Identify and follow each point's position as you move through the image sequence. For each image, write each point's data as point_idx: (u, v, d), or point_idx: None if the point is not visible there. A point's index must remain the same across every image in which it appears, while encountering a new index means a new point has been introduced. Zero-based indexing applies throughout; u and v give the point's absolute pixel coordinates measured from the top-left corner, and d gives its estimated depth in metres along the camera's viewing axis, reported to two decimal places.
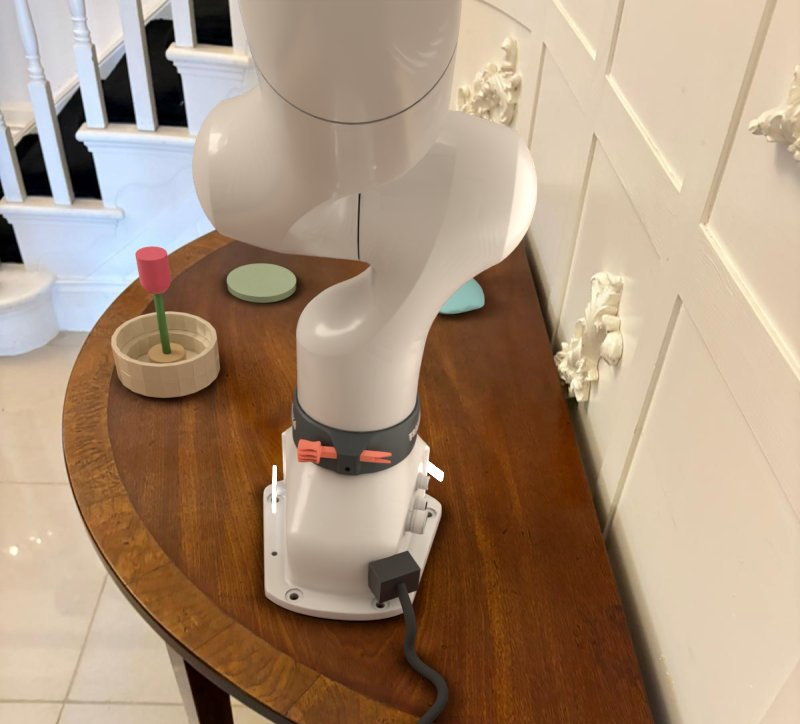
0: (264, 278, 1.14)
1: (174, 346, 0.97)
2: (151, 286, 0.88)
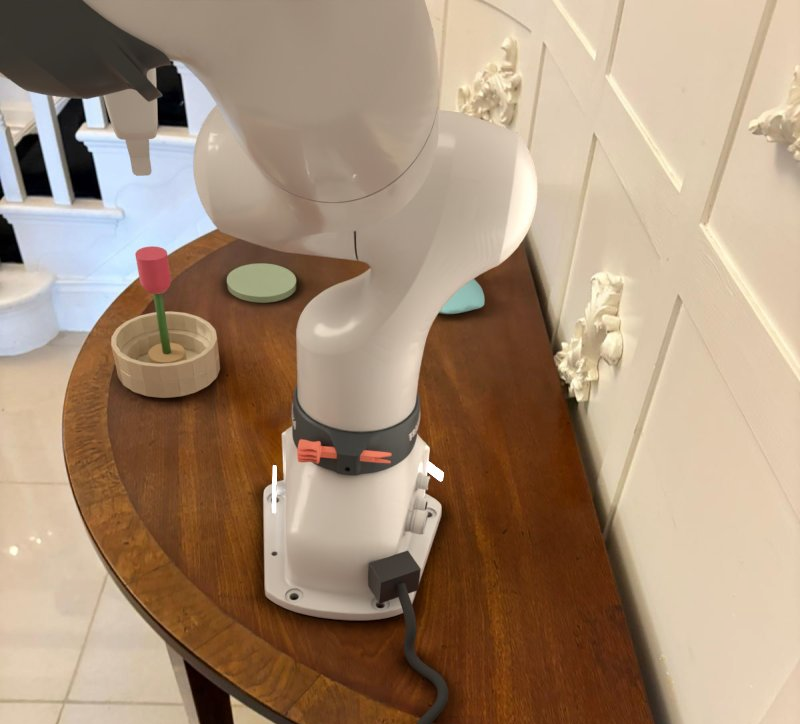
0: (264, 278, 1.14)
1: (174, 346, 0.97)
2: (151, 286, 0.88)
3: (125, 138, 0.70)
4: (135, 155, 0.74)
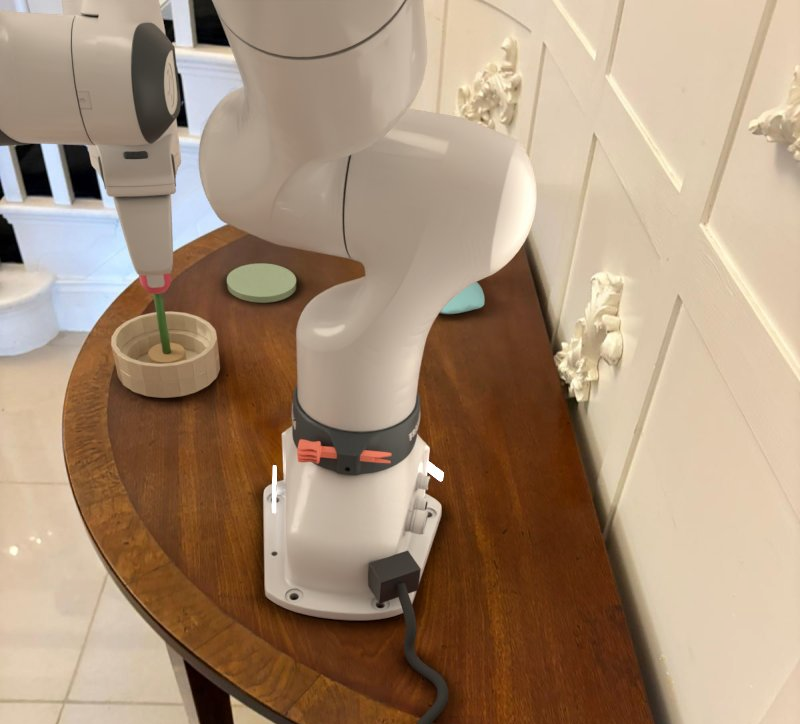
0: (264, 278, 1.14)
1: (174, 346, 0.97)
2: None
3: (144, 274, 0.79)
4: None
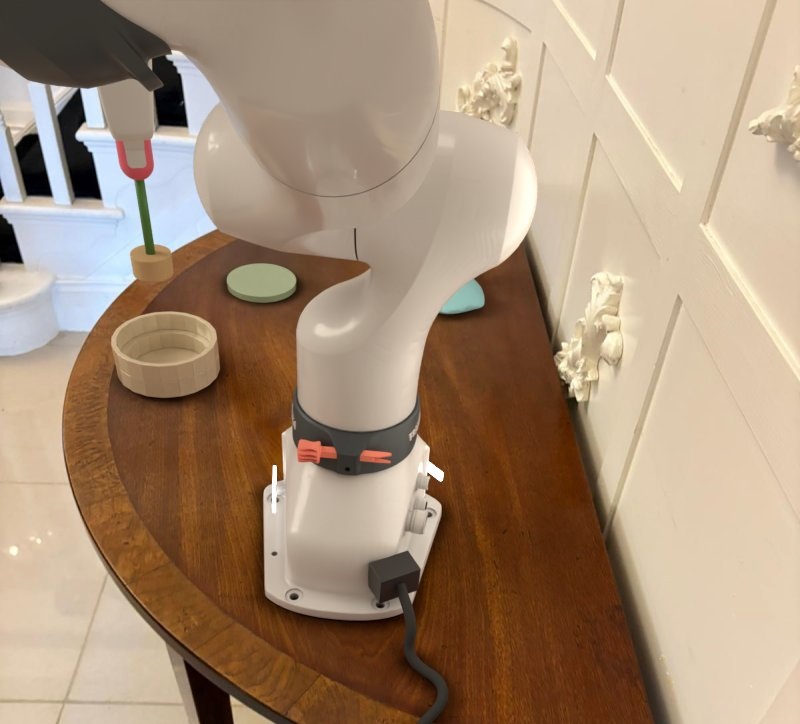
0: (264, 278, 1.14)
1: (159, 247, 0.88)
2: (132, 169, 0.79)
3: (121, 139, 0.70)
4: (130, 148, 0.76)
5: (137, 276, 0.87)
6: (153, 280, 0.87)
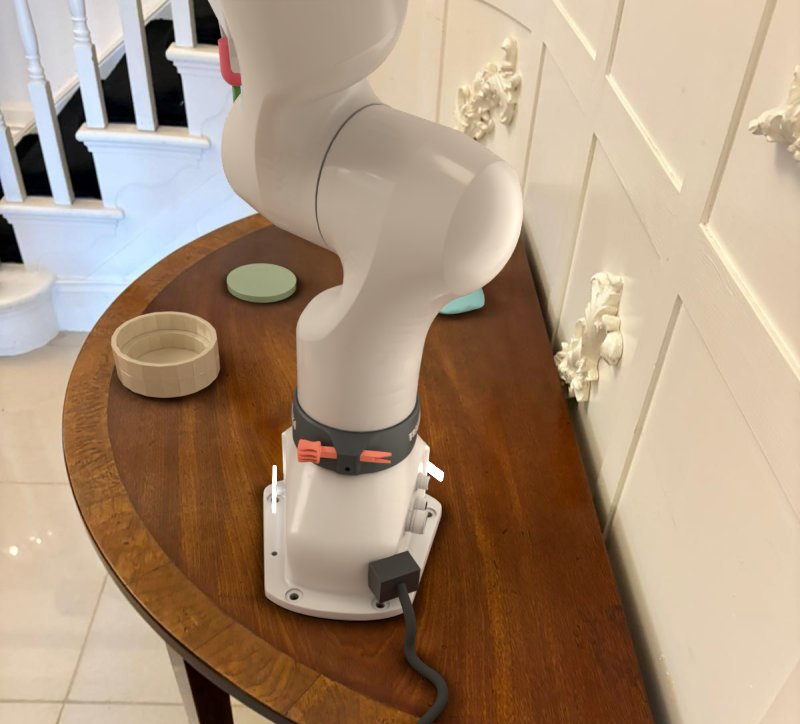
0: (264, 278, 1.14)
1: None
2: (232, 75, 0.91)
3: None
4: (235, 54, 0.88)
5: None
6: None
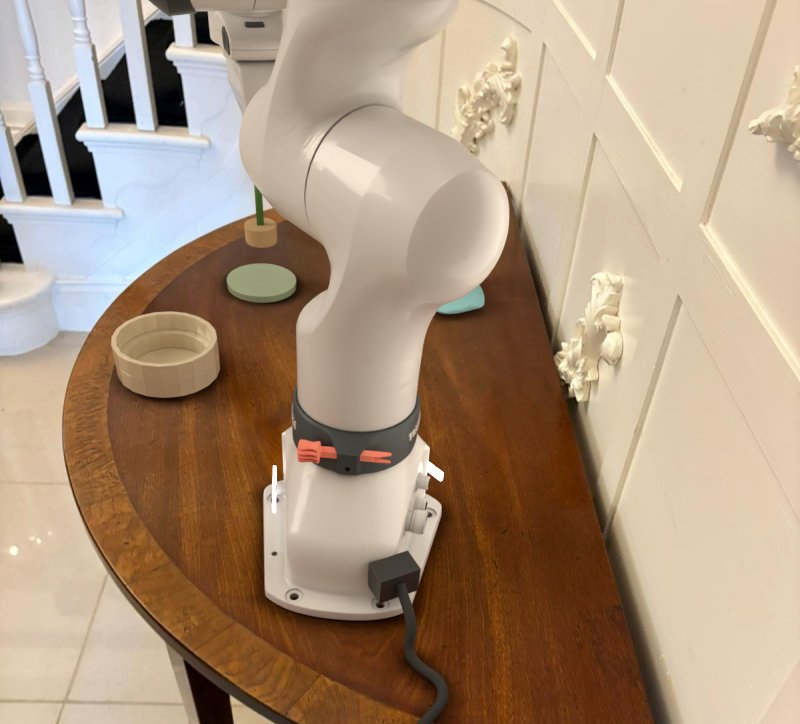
0: (264, 278, 1.14)
1: (266, 220, 1.09)
2: None
3: None
4: None
5: (249, 243, 1.09)
6: (262, 246, 1.09)
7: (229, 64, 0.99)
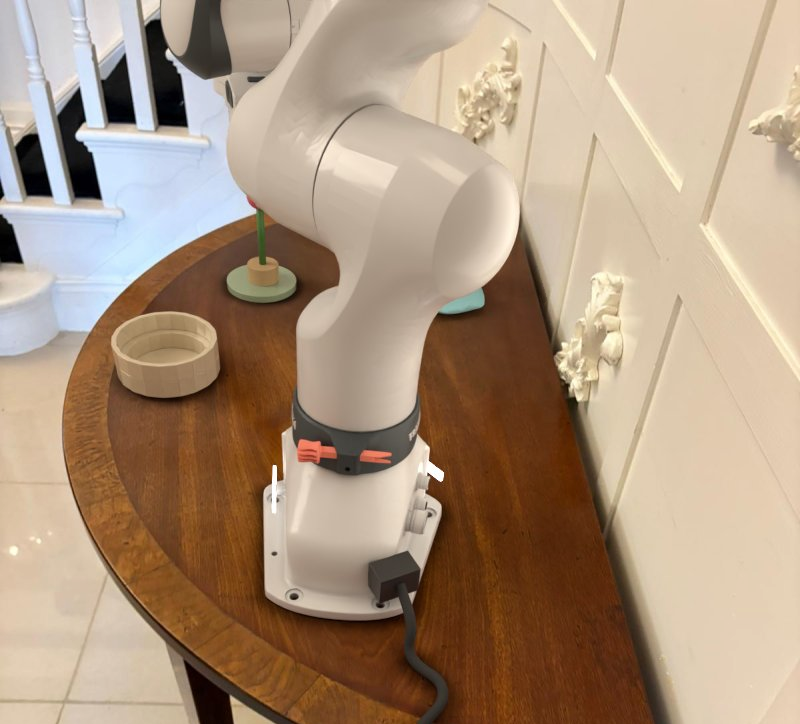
0: None
1: (268, 259, 1.13)
2: None
3: None
4: None
5: (252, 281, 1.13)
6: (264, 284, 1.13)
7: (231, 111, 1.03)
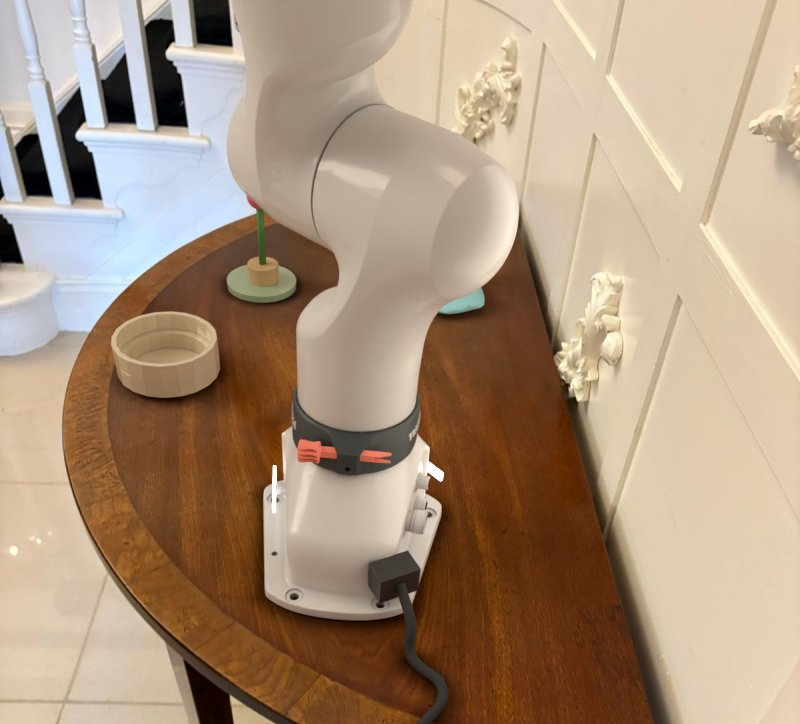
0: None
1: (268, 259, 1.13)
2: None
3: None
4: None
5: (252, 281, 1.13)
6: (264, 284, 1.13)
7: None
